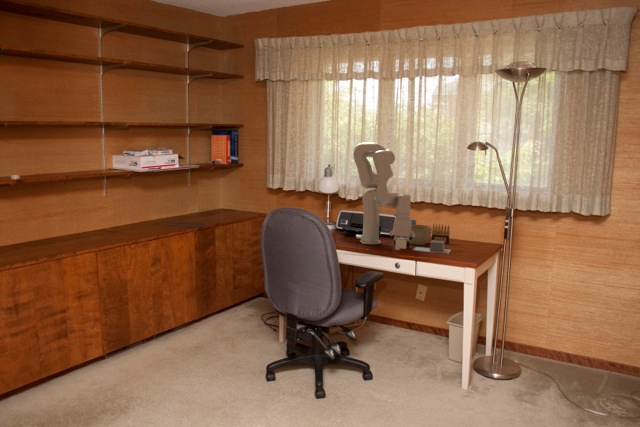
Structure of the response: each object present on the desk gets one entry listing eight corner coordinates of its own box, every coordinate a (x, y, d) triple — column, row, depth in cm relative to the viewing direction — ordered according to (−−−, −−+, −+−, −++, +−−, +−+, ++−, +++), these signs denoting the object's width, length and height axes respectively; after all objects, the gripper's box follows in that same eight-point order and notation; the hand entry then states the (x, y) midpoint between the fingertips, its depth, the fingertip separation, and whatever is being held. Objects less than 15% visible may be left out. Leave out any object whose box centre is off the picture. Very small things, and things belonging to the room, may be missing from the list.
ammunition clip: (431, 242, 344) (432, 223, 342) (431, 242, 346) (432, 223, 344) (449, 244, 341) (450, 224, 340) (449, 243, 343) (450, 224, 341)
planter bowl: (398, 243, 338) (398, 225, 336) (415, 241, 348) (416, 223, 347) (418, 248, 326) (419, 229, 324) (436, 245, 336) (437, 227, 335)
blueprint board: (411, 252, 314) (411, 250, 314) (415, 248, 325) (415, 246, 325) (448, 255, 308) (448, 253, 307) (450, 251, 319) (451, 249, 319)
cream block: (395, 249, 320) (395, 239, 319) (397, 247, 326) (397, 237, 325) (405, 250, 318) (406, 240, 317) (407, 248, 324) (408, 238, 323)
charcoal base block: (429, 251, 313) (430, 242, 313) (431, 248, 320) (432, 240, 319) (442, 252, 311) (443, 243, 310) (444, 249, 318) (444, 241, 317)
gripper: (386, 215, 319) (385, 247, 321) (417, 218, 313) (415, 250, 316) (389, 214, 326) (388, 245, 328) (419, 216, 320) (417, 247, 323)
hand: (401, 247), depth 322 cm, fingers closed on cream block, 6 cm apart
